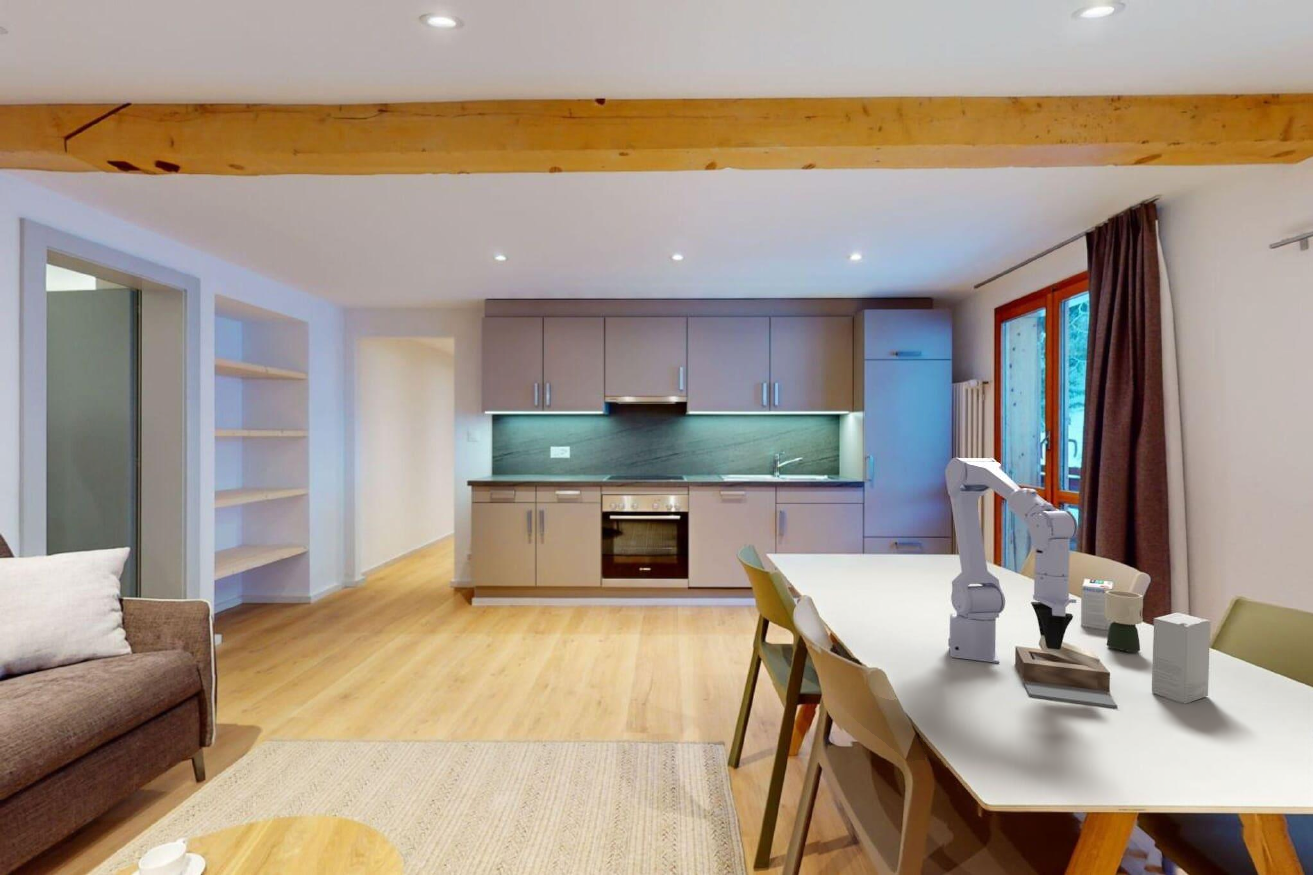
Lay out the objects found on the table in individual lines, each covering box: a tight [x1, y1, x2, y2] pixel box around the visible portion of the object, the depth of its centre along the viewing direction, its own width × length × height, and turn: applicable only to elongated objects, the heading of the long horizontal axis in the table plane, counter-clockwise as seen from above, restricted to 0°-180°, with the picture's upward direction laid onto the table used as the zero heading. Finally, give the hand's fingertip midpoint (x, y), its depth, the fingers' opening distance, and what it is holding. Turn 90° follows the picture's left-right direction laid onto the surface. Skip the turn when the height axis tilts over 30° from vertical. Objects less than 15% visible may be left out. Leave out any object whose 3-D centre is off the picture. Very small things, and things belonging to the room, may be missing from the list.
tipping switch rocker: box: [1031, 654, 1055, 662], centre depth 134 cm, size 9×5×1 cm, turn 69°
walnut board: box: [1014, 645, 1111, 693], centre depth 134 cm, size 15×11×4 cm
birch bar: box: [1038, 635, 1101, 670], centre depth 125 cm, size 9×4×2 cm, turn 69°
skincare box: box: [1151, 612, 1211, 705], centre depth 125 cm, size 8×6×15 cm
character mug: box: [1105, 590, 1144, 653], centre depth 152 cm, size 11×7×13 cm, turn 163°
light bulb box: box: [1080, 578, 1114, 631], centre depth 174 cm, size 11×7×11 cm, turn 144°
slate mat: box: [1022, 680, 1118, 709], centre depth 125 cm, size 14×7×1 cm, turn 69°
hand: (1050, 644), depth 126 cm, fingers closed on birch bar, 4 cm apart
